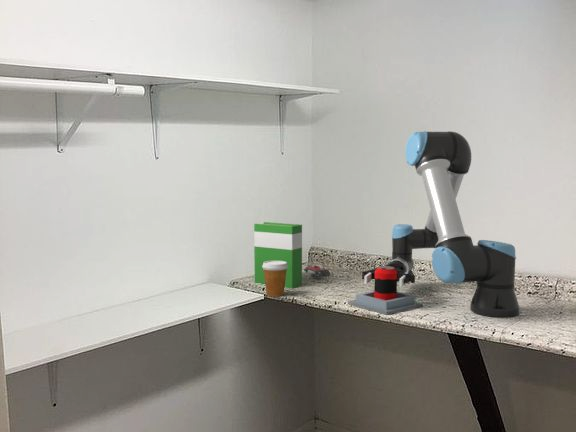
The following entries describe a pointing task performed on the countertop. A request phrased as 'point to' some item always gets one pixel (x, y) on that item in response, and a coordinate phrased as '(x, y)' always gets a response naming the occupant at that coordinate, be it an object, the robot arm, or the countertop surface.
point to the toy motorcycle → (316, 271)
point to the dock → (385, 303)
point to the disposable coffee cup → (275, 277)
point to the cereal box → (279, 250)
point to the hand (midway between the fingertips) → (382, 281)
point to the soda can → (385, 283)
